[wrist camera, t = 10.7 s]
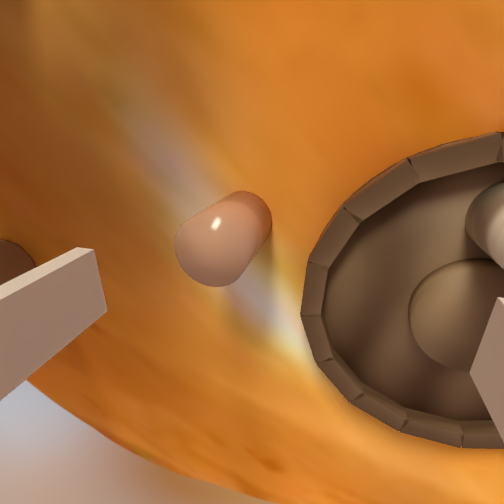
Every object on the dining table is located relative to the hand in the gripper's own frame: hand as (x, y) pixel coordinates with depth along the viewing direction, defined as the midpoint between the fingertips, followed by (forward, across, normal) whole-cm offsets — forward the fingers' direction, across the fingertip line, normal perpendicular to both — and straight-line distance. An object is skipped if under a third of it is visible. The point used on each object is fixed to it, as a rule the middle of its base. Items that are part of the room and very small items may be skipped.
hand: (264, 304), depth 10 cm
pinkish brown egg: (+14, -5, -2) cm, 15 cm away
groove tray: (+14, +12, -7) cm, 19 cm away
